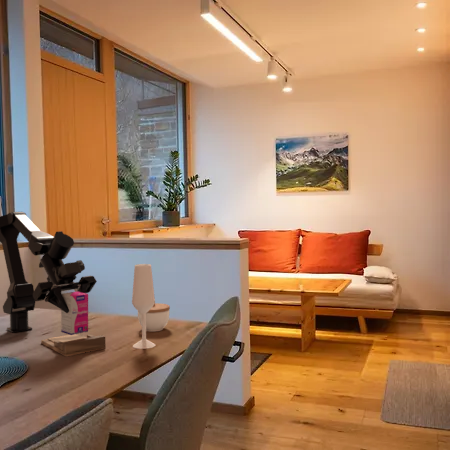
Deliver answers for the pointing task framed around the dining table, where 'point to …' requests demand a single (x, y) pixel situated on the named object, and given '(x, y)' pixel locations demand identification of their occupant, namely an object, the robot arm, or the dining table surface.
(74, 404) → the dining table surface
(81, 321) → the supplement box
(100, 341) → the click board
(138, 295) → the champagne flute
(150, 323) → the lidded jar
